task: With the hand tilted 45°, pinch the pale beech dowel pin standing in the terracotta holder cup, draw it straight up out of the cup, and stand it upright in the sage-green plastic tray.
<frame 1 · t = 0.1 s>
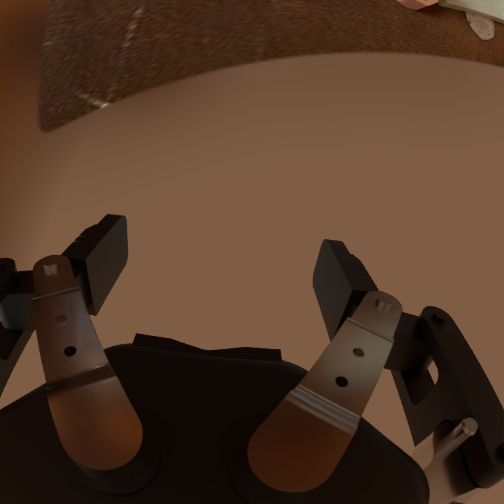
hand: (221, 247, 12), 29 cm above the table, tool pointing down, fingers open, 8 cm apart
flatbread: (477, 20, 26), on the table
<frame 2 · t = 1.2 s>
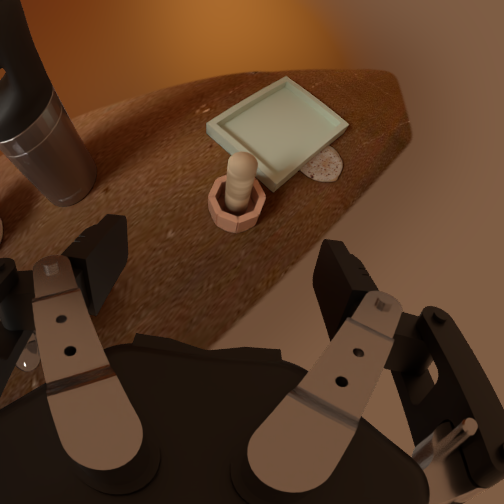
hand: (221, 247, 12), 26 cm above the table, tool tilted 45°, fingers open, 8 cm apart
beech pin: (235, 207, 40), resting on pin holder cup
flatbread: (317, 162, 44), on the table
sage tray: (279, 130, 45), on the table
pin holder cup: (235, 209, 40), on the table
wine glass: (24, 346, 31), on the table
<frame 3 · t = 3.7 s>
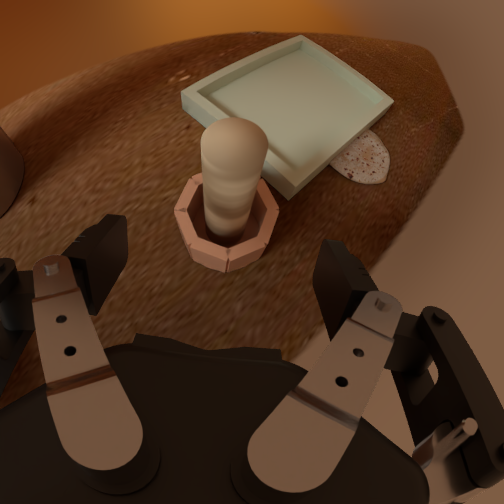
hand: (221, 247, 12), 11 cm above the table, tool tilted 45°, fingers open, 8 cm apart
beech pin: (225, 227, 23), resting on pin holder cup
flatbread: (354, 154, 28), on the table
sage tray: (294, 105, 28), on the table
pin holder cup: (224, 230, 24), on the table
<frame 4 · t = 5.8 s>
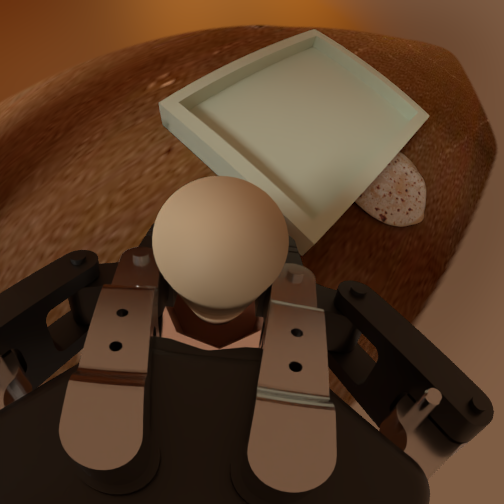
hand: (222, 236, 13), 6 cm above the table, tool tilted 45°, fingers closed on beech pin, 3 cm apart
beech pin: (217, 299, 17), point 1 cm above the table, touching gripper, pin holder cup
flatbread: (383, 185, 22), on the table
sage tray: (308, 119, 22), on the table
pin holder cup: (217, 300, 17), on the table
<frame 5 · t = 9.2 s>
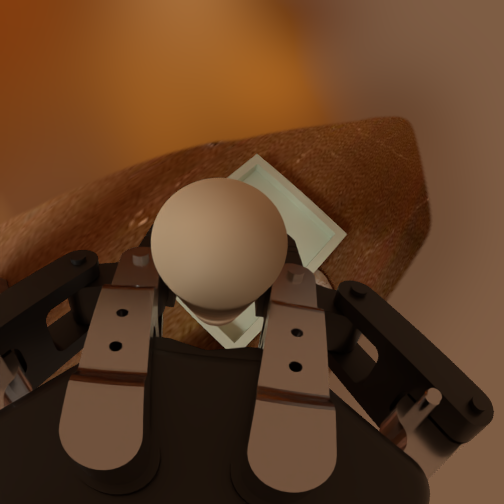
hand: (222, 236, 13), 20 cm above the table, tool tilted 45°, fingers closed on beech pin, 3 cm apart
beech pin: (216, 300, 17), point 15 cm above the table, touching gripper
sage tray: (244, 251, 33), on the table
when the fingers open (8 cm above the table, at t = 12.3 s): beech pin drops 1 cm, resting on sage tray.
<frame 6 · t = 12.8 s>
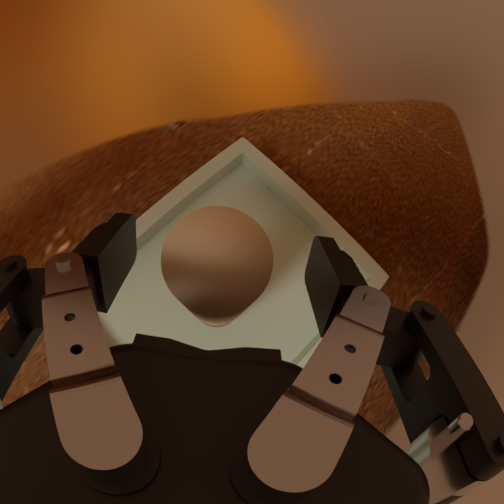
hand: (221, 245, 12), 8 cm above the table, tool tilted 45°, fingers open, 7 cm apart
beech pin: (216, 303, 18), point 1 cm above the table, touching sage tray
sage tray: (216, 303, 19), on the table
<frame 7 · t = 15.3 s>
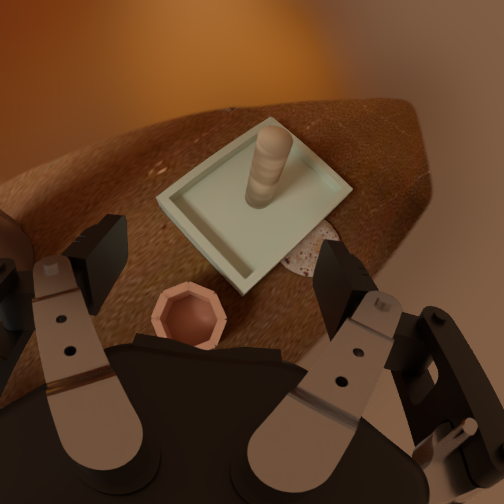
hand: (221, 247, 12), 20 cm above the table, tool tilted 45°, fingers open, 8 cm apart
beech pin: (258, 197, 34), point 1 cm above the table, touching sage tray
flatbread: (307, 246, 35), on the table
sage tray: (257, 200, 35), on the table
pin holder cup: (191, 321, 30), on the table
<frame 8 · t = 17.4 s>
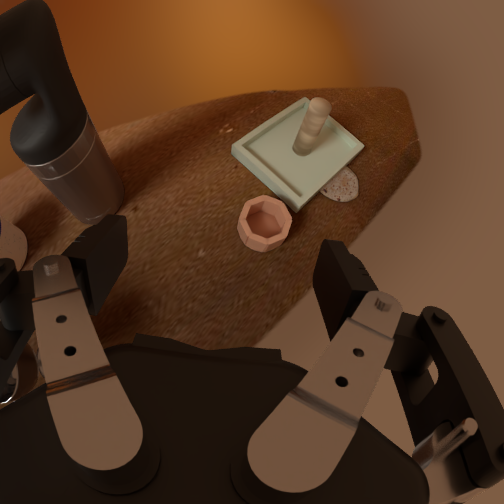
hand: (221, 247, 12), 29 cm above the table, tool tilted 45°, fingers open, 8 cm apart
beech pin: (301, 149, 47), point 1 cm above the table, touching sage tray
flatbread: (336, 183, 47), on the table
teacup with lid: (5, 257, 37), on the table
sage tray: (299, 152, 48), on the table
pin holder cup: (261, 229, 43), on the table
wine glass: (55, 361, 34), on the table
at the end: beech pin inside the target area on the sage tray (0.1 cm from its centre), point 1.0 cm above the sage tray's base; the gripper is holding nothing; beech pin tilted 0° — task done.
